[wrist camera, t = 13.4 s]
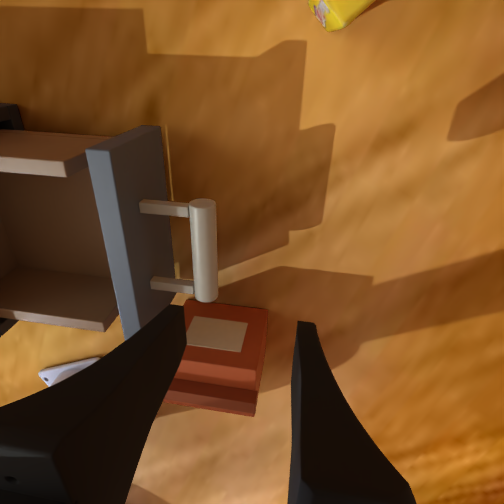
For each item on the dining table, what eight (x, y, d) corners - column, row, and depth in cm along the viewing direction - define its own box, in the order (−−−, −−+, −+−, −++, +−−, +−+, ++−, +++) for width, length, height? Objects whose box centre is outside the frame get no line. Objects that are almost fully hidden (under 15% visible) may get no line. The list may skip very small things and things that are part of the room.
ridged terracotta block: (270, 308, 27) (256, 383, 21) (267, 352, 29) (254, 431, 23) (184, 297, 27) (147, 366, 21) (188, 341, 30) (155, 414, 24)
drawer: (230, 130, 20) (201, 157, 15) (230, 299, 26) (210, 358, 21) (-32, 113, 22) (-136, 132, 17) (25, 273, 28) (-39, 322, 23)
